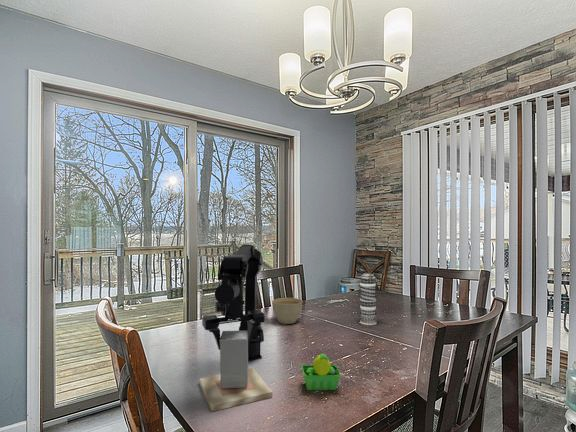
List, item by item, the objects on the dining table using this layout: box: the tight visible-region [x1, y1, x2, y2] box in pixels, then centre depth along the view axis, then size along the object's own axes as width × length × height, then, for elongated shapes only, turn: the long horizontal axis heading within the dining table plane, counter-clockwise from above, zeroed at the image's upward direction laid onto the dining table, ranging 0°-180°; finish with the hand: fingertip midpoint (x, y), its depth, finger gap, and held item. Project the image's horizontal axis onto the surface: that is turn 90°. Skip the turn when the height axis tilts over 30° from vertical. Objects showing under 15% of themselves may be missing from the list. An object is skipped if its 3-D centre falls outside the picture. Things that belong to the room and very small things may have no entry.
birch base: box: [199, 367, 273, 412], centre depth 102 cm, size 18×18×2 cm
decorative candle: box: [358, 273, 378, 326], centre depth 172 cm, size 9×9×25 cm
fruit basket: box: [301, 353, 341, 391], centre depth 104 cm, size 11×9×11 cm
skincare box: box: [219, 330, 249, 389], centre depth 102 cm, size 8×7×16 cm
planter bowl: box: [271, 297, 303, 325], centre depth 174 cm, size 16×16×11 cm
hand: (234, 347), depth 103 cm, fingers open, 9 cm apart
